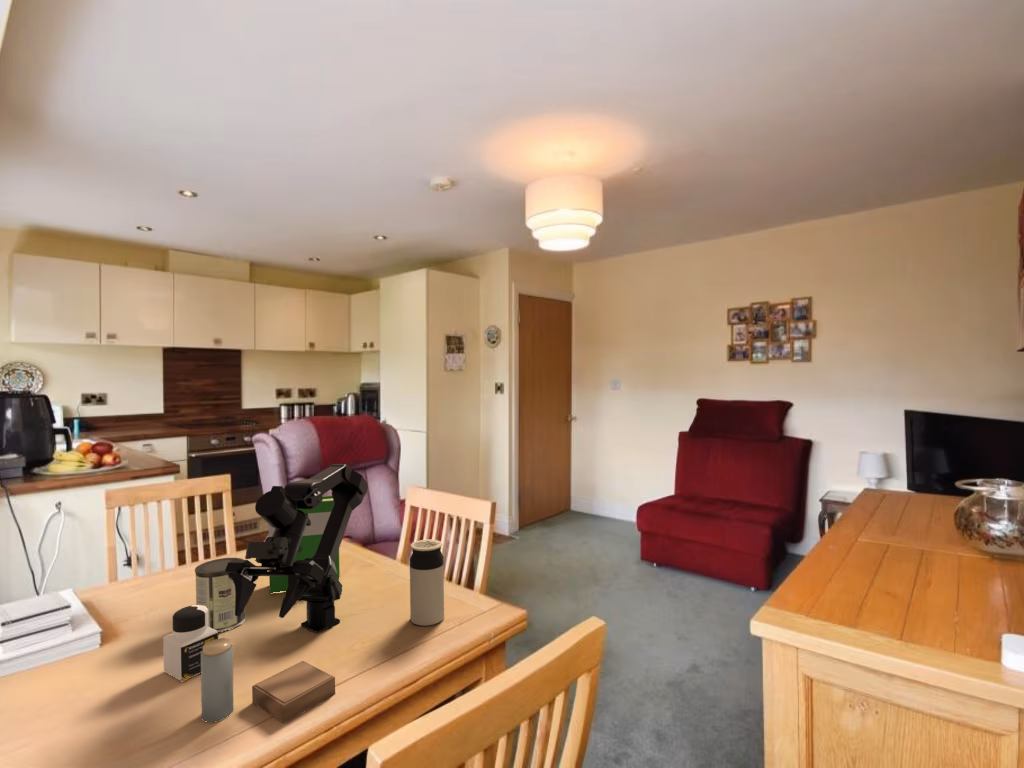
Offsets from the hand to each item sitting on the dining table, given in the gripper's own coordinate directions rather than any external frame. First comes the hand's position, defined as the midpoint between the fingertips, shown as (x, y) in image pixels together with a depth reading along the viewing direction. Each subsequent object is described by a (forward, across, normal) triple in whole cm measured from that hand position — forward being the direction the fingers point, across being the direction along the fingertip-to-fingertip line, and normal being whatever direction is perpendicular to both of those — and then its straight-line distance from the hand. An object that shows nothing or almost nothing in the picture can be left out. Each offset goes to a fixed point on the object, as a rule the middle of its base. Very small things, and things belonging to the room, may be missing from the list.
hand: (258, 616), depth 99 cm
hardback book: (-20, -18, +42) cm, 50 cm away
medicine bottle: (+8, -17, +10) cm, 21 cm away
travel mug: (-9, +22, +32) cm, 40 cm away
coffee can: (-4, -25, +23) cm, 35 cm away
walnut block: (+12, +9, +6) cm, 16 cm away
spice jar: (+16, -2, +1) cm, 16 cm away
